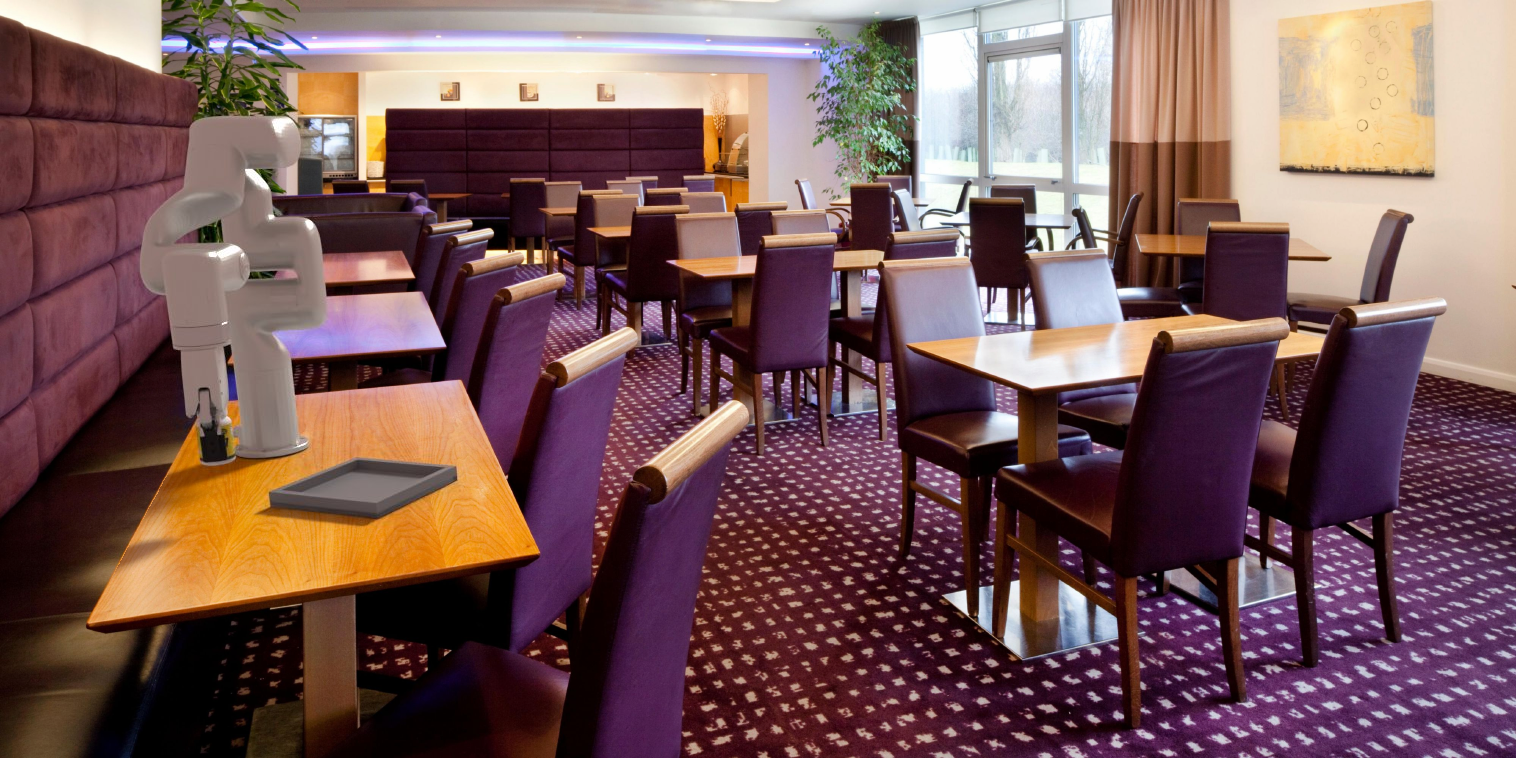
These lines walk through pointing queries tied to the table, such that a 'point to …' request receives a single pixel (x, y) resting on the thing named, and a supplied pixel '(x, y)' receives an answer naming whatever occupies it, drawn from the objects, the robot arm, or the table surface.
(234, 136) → the robot arm
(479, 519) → the table surface
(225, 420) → the supplement bottle
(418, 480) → the serving tray
